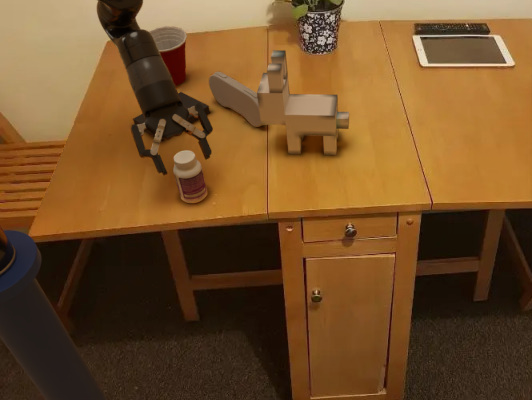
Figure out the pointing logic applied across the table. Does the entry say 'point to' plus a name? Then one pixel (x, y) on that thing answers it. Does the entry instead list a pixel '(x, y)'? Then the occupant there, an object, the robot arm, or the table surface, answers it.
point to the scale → (187, 103)
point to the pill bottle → (189, 177)
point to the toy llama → (298, 109)
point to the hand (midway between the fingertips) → (186, 166)
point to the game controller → (235, 97)
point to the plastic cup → (172, 50)
